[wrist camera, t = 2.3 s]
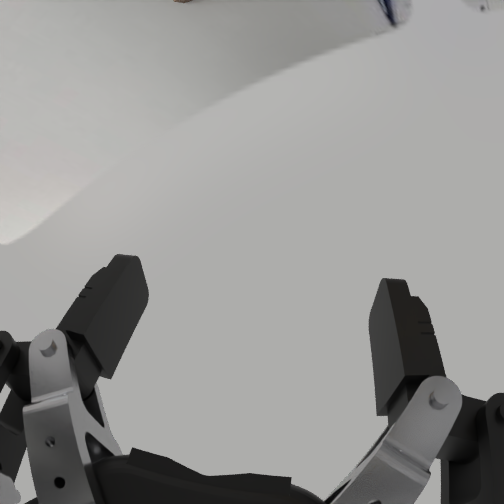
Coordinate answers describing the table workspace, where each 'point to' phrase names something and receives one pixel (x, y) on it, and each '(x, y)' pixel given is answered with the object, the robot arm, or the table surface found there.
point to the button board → (182, 1)
